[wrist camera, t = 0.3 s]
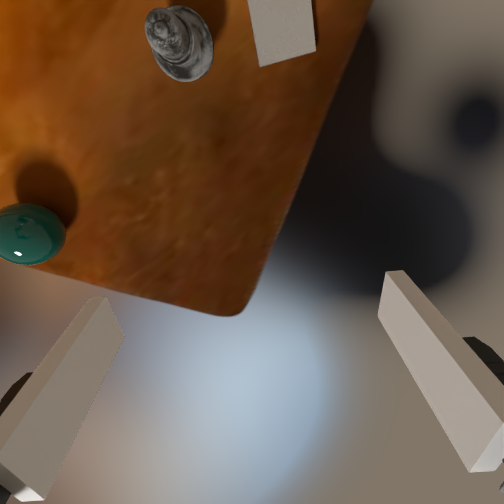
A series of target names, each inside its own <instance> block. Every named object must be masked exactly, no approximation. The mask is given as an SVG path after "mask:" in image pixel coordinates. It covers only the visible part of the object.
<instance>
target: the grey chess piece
mask: <svg viewBox="0 0 504 504" xmlns="http://www.w3.org/2000/svg"><path fill="white" fill-rule="evenodd" d="M145 33H146V37H147V39H148V42H149V43H150V45H151V47H152V52H153V54H154V57H155V59H156V61H157V63H158V65H159V66H160V68H161V69H162V70H163V71H164V72H165V73H166V74H167V75H168V76H170V77H172V78H173V79H175V80H178V81H182V82H191V81H193V80H196V79H198V78H201V77H202V76H203V75H205V74H206V73H207V72H208V70H209V69H210V67H211V64H212V62H213V56H214V51H213V41H212V37H211V33H210V30H209V28H208V26H207V24H206V23H205V21H204V20H203V18H202V17H201V16H200V15H199V14H198V13H197V12H195V11H194V10H192V9H191V8H189V7H185V6H182V5H173V6H170V7H168V8H156V9H153V10H152V11H151V12H150V13H149V14H148V16H147V17H146V21H145Z"/></svg>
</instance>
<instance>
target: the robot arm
mask: <svg viewBox="0 0 504 504" xmlns="http://www.w3.org/2000/svg"><path fill="white" fill-rule="evenodd" d="M378 318H379V320H380V321H381V323H382V325H383V326H384V328H385V330H386V331H387V333H388V335H389V337H390V338H391V340H392V342H393V343H394V345H395V347H396V349H397V350H398V352H399V354H400V355H401V357H402V359H403V360H404V362H405V364H406V366H407V367H408V369H409V371H410V372H411V374H412V376H413V378H414V379H415V381H416V383H417V384H418V386H419V388H420V390H421V391H422V393H423V395H424V396H425V398H426V400H427V402H428V403H429V405H430V407H431V408H432V410H433V412H434V413H435V415H436V417H437V419H438V420H439V422H440V424H441V425H442V427H443V429H444V431H445V432H446V434H447V436H448V437H449V439H450V441H451V442H452V444H453V446H454V448H455V449H456V451H457V453H458V454H459V456H460V458H461V460H462V461H463V463H464V465H465V466H466V468H467V470H468V471H469V472H483V471H495V470H496V469H497V467H498V466H499V465H500V464H501V462H502V461H503V462H504V361H503V360H502V359H501V358H500V357H499V356H498V355H497V354H496V353H495V352H494V350H493V349H492V348H490V347H489V346H488V345H486V344H485V343H482V342H481V341H480V340H478V339H477V338H475V337H464V338H462V337H461V336H460V335H459V334H458V333H457V332H456V330H455V329H454V328H453V327H452V326H451V325H450V324H449V323H448V321H447V320H446V319H445V318H444V317H443V316H442V315H441V313H440V312H439V311H438V310H437V309H436V308H435V307H434V305H433V304H432V303H431V302H430V301H429V300H428V299H427V297H426V296H425V295H424V294H423V293H422V292H421V291H420V289H419V288H418V287H417V286H416V285H415V284H414V283H413V281H412V280H411V279H410V278H409V277H408V276H407V275H406V274H405V272H404V271H403V270H402V271H390V272H386V275H385V280H384V285H383V290H382V295H381V301H380V306H379V311H378ZM124 337H125V336H124V334H123V332H122V330H121V328H120V326H119V324H118V321H117V319H116V317H115V315H114V313H113V311H112V309H111V306H110V304H109V302H108V300H107V298H106V296H102V297H90V298H89V299H88V301H87V302H86V303H85V305H84V306H83V307H82V309H81V310H80V311H79V313H78V314H77V315H76V317H75V318H74V319H73V320H72V322H71V323H70V325H69V326H68V327H67V328H66V330H65V331H64V333H63V334H62V335H61V337H60V338H59V339H58V340H57V342H56V343H55V344H54V346H53V347H52V349H51V350H50V351H49V352H48V354H47V355H46V357H45V358H44V359H43V360H42V362H41V363H40V364H39V366H38V367H37V368H36V370H35V371H34V372H31V373H26V374H25V375H24V376H23V377H22V378H21V379H19V380H18V381H17V382H16V383H15V384H13V385H12V387H11V388H10V389H9V390H8V391H7V393H6V394H5V395H4V397H3V398H2V399H1V402H0V504H6V502H7V500H8V499H9V497H10V495H11V494H12V495H13V496H15V497H16V498H17V499H18V500H20V501H21V502H22V501H37V500H45V499H46V497H47V494H48V493H49V490H50V488H51V486H52V484H53V482H54V480H55V478H56V476H57V474H58V472H59V470H60V468H61V466H62V464H63V462H64V460H65V458H66V456H67V454H68V451H69V450H70V448H71V446H72V444H73V441H74V439H75V437H76V435H77V433H78V431H79V429H80V427H81V425H82V423H83V421H84V419H85V417H86V415H87V413H88V411H89V408H90V407H91V405H92V403H93V401H94V399H95V397H96V394H97V392H98V390H99V388H100V386H101V384H102V382H103V380H104V378H105V376H106V374H107V372H108V370H109V368H110V366H111V364H112V362H113V360H114V358H115V356H116V354H117V352H118V350H119V348H120V346H121V344H122V342H123V339H124ZM499 492H501V493H503V494H504V482H503V483H502V484H501V487H500V489H499Z"/></svg>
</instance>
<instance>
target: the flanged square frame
mask: <svg viewBox="0 0 504 504" xmlns="http://www.w3.org/2000/svg"><path fill="white" fill-rule="evenodd" d="M247 3H248V8H249V14H250V19H251V25H252V30H253V35H254V41H255V46H256V52H257V57H258V62H259V67H263V66H267V65H270V64H274V63H277V62H281V61H284V60H288V59H291V58H295V57H298V56H302V55H305V54H309V53H313V52H315V51H316V46H315V36H314V25H313V15H312V4H311V0H247Z"/></svg>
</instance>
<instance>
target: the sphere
mask: <svg viewBox="0 0 504 504" xmlns="http://www.w3.org/2000/svg"><path fill="white" fill-rule="evenodd" d="M65 241H66V230H65V226H64V224H63V222H62V221H61V219H60V218H59V217H58V216H57V215H56V214H55V213H54V212H53V211H51V210H49V209H48V208H46V207H44V206H41V205H38V204H34V203H16V204H12V205H8V206H5V207H3V208H1V209H0V257H1V258H3V259H5V260H6V261H8V262H11V263H15V264H19V265H35V264H39V263H44V262H46V261H48V260H50V259H51V258H53V257H54V256H56V255H57V254H58V253H59V252H60V251H61V249H62V247H63V246H64V244H65Z"/></svg>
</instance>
